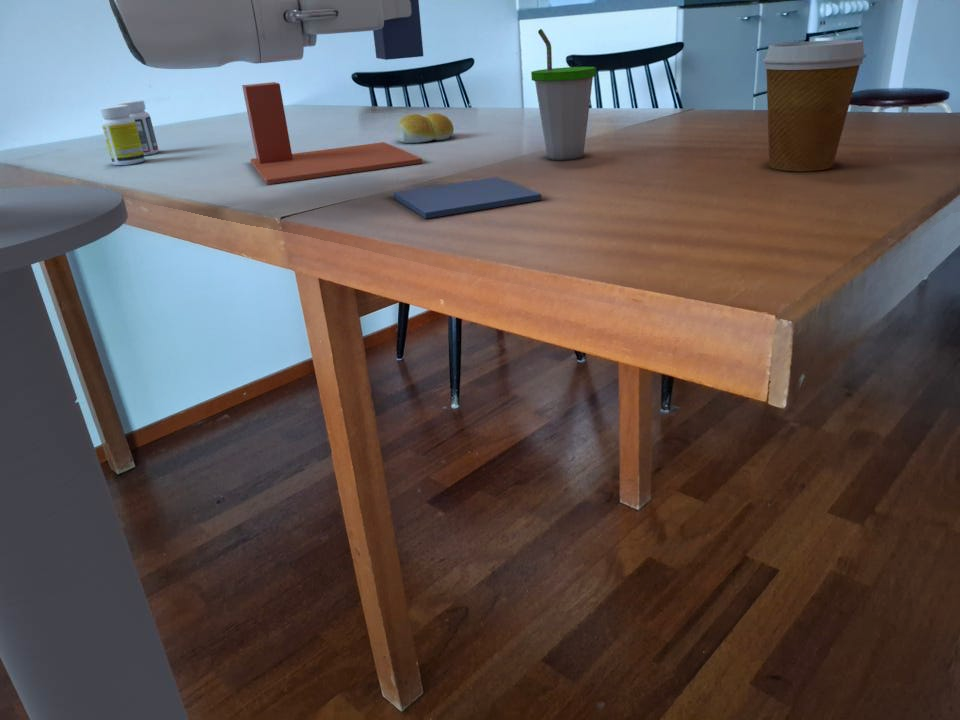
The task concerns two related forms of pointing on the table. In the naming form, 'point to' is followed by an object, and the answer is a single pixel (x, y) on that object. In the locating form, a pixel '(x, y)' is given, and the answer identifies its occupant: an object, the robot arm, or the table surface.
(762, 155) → the table surface
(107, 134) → the supplement bottle
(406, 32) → the blue block
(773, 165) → the disposable coffee cup
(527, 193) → the blue mat
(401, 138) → the bread roll
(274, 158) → the red block
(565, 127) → the cup
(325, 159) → the red mat
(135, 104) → the pill bottle
